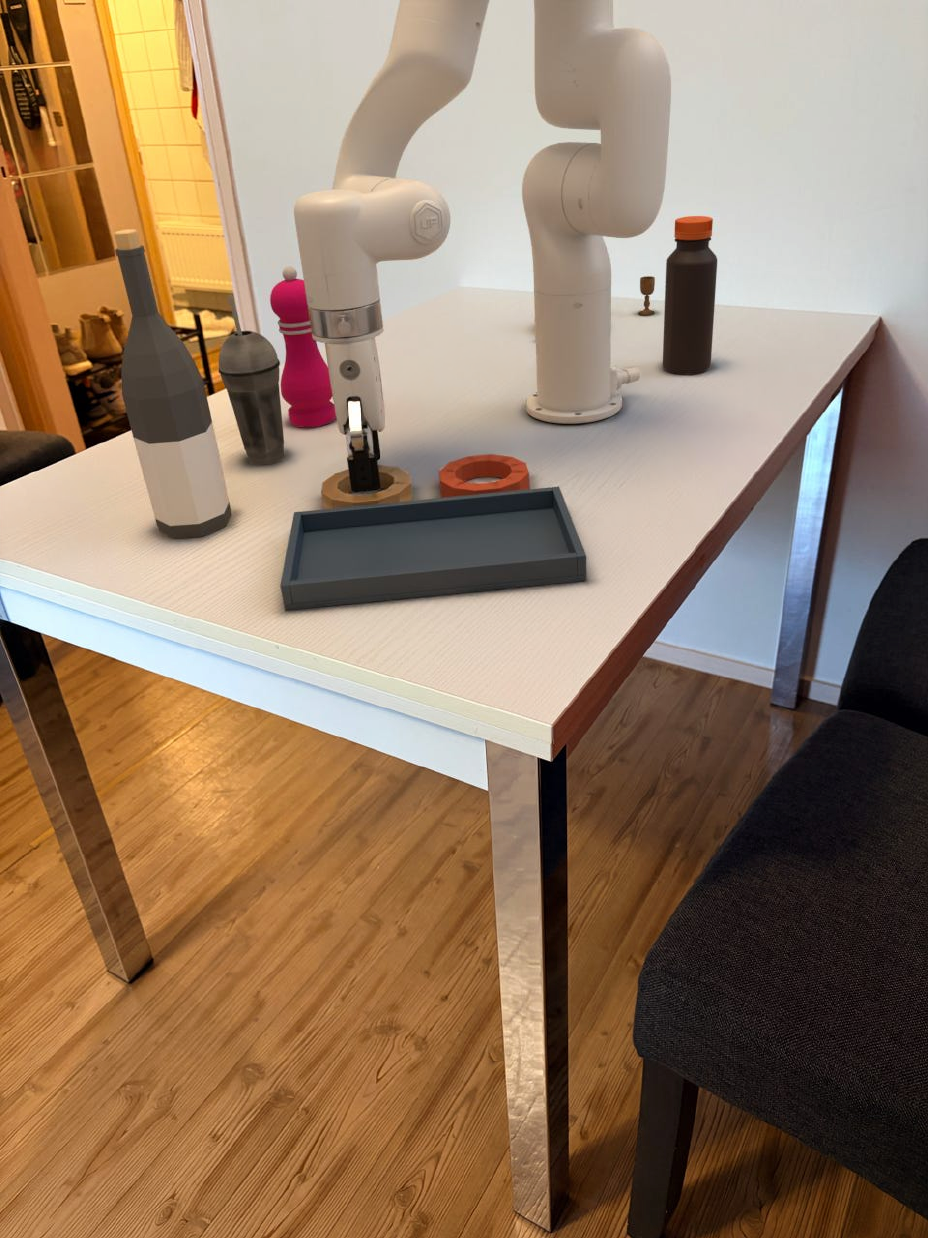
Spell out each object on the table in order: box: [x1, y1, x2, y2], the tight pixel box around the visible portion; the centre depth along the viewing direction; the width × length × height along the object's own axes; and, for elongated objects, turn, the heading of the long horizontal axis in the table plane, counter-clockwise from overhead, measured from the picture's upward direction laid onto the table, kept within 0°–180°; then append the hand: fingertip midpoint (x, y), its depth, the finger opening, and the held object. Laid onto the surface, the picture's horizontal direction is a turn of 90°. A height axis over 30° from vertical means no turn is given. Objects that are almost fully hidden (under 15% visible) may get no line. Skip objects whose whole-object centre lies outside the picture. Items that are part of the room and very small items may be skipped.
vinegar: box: [662, 215, 718, 375], centre depth 132 cm, size 7×7×20 cm
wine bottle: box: [113, 228, 232, 540], centre depth 97 cm, size 8×8×30 cm
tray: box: [280, 486, 587, 611], centre depth 93 cm, size 28×16×3 cm, turn 94°
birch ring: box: [320, 464, 413, 509], centre depth 106 cm, size 10×10×2 cm
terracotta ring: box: [438, 453, 530, 498], centre depth 106 cm, size 10×10×2 cm
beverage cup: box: [218, 294, 286, 466], centre depth 114 cm, size 7×7×20 cm
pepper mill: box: [269, 265, 337, 429], centre depth 125 cm, size 7×7×20 cm
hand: (366, 474), depth 109 cm, fingers open, 8 cm apart
